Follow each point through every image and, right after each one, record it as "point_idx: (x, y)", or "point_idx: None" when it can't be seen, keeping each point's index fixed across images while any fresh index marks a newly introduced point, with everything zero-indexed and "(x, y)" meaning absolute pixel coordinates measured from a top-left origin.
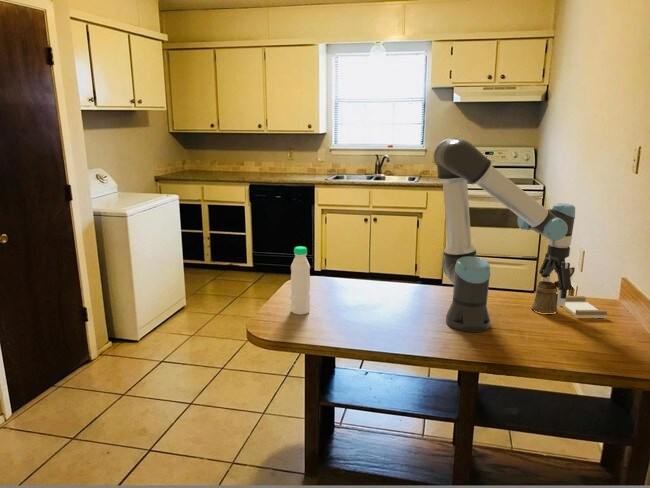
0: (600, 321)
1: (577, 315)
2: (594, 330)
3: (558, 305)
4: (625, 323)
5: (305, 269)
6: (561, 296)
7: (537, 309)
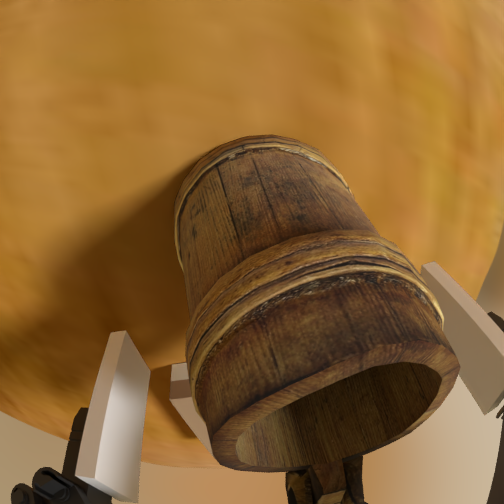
0: (179, 419)
1: (171, 379)
2: (66, 380)
3: (113, 342)
4: (191, 453)
5: None
6: (85, 421)
7: (202, 169)
